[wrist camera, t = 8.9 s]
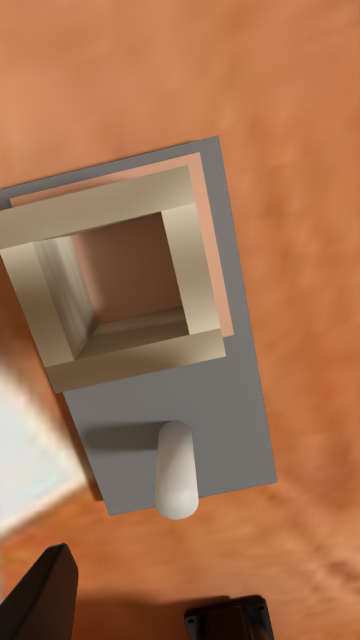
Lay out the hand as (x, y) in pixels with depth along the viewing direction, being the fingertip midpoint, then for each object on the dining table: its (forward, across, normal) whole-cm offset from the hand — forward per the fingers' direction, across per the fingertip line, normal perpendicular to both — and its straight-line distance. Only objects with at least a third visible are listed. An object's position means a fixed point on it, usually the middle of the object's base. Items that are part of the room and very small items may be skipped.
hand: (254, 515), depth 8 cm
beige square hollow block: (+10, +3, -5) cm, 12 cm away
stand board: (+12, +3, 0) cm, 12 cm away
